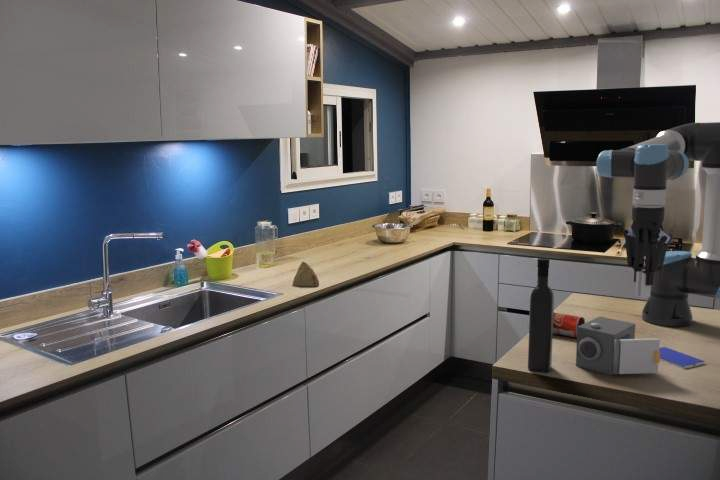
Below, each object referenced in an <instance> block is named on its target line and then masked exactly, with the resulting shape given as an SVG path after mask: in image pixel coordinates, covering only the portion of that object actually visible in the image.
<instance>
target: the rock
mask: <svg viewBox="0 0 720 480" xmlns="http://www.w3.org/2000/svg"><path fill="white" fill-rule="evenodd" d="M297 269H298V270H297V271H296V274H295V276H294V277H293V281H292V286H295V287H319V286H320V281H319V278H318V275H317V274H316V272H315V271H314V270H313V268H312V267H311V266H310V265H309V264H308V263H307V262H306V261H302V262H301V263H300V265H299V267H298V268H297Z"/></svg>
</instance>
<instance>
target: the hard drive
mask: <svg viewBox="0 0 720 480" xmlns="http://www.w3.org/2000/svg"><path fill="white" fill-rule="evenodd" d="M659 351H660V361H662V362H664V361H665V363H667V362H668V364H669V363H670V365H672V364H673V365H672V366H675V367H677V366H678V368H680V369H683V370H685V369H689V368H693V367H697V366H700V365H704V364H705V360H703V359H701V358H696V357H694V356H692V355H689V354H685V353H684V352H680V351H677V350H674V349H672V348H669V347H667V346H662V347H659Z"/></svg>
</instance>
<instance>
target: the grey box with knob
mask: <svg viewBox="0 0 720 480" xmlns="http://www.w3.org/2000/svg"><path fill="white" fill-rule="evenodd" d="M635 335H636V323H632V322H629V321H623V320H620V319H615V318H608V317H606V316H598V317H596V318H593V319H591V320H590V321H587V322H585V323H584V324H582V325H580V326H578V329H577V338H576V353H575V366H576V367H579V368H584V369H587V370H590V371H594V372H598V373H601V374H605V375H610V376H614V374H613V356H614V340H615V339H618V340H620V339H636V338H635Z"/></svg>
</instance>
